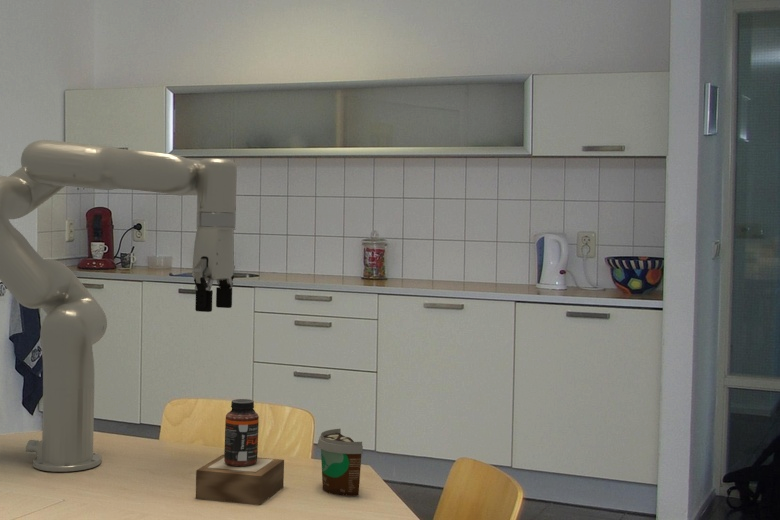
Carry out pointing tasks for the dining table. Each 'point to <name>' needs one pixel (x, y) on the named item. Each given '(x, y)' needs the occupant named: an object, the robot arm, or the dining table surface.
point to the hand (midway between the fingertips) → (214, 309)
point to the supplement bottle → (241, 434)
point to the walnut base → (240, 481)
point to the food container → (340, 463)
